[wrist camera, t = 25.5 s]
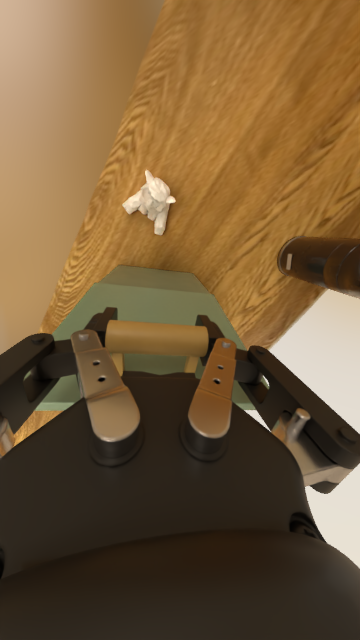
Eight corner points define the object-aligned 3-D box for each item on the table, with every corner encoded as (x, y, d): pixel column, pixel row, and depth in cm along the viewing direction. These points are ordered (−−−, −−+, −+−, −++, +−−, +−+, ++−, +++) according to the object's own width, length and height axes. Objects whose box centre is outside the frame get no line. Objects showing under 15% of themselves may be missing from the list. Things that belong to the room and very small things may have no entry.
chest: (182, 336, 53) (193, 381, 37) (119, 332, 50) (101, 379, 34) (192, 273, 46) (212, 295, 30) (118, 264, 43) (95, 284, 27)
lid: (275, 410, 13) (311, 357, 11) (-1, 411, 11) (-44, 340, 8) (212, 298, 29) (220, 266, 27) (95, 287, 27) (91, 250, 24)
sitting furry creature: (121, 208, 38) (107, 199, 27) (143, 166, 36) (137, 138, 25) (160, 237, 41) (161, 239, 31) (182, 201, 39) (192, 189, 28)
